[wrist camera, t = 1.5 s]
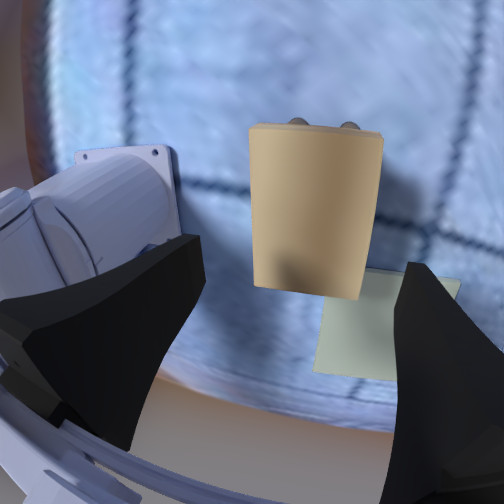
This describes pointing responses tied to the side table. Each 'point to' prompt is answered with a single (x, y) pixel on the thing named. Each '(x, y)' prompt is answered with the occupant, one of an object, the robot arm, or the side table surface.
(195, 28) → the side table surface
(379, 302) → the mat
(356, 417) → the side table surface
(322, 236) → the tan block with pegs
